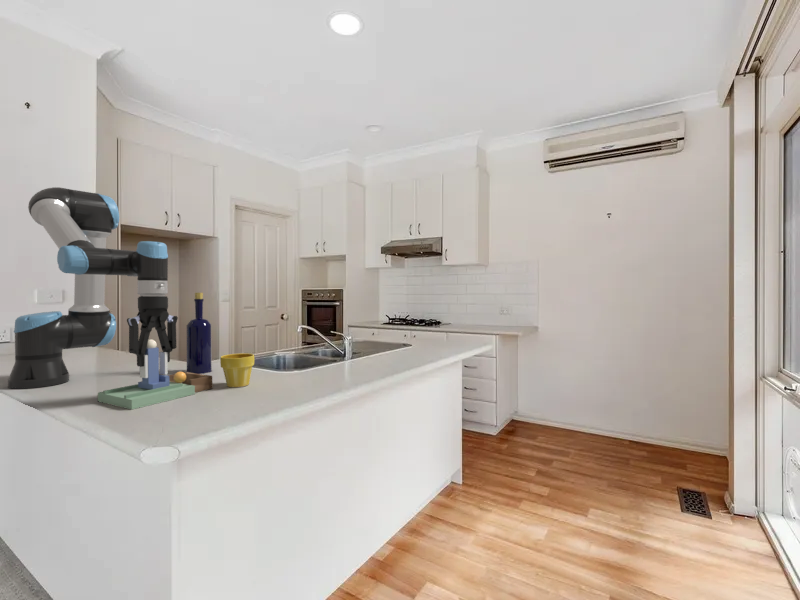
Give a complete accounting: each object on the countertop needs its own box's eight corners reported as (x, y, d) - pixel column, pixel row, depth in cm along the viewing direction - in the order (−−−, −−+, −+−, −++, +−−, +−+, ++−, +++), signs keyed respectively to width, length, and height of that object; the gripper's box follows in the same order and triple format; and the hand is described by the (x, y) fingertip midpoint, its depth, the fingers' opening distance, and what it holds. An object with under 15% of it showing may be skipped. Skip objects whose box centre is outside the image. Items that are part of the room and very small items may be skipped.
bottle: (205, 374, 151) (204, 292, 150) (180, 374, 151) (180, 292, 151) (217, 369, 160) (216, 292, 160) (193, 369, 160) (193, 292, 160)
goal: (164, 388, 129) (164, 375, 129) (185, 384, 135) (185, 371, 135) (191, 393, 123) (191, 380, 123) (212, 388, 129) (212, 375, 129)
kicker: (137, 387, 118) (137, 339, 118) (155, 383, 123) (155, 337, 123) (152, 390, 115) (152, 340, 115) (170, 386, 120) (170, 338, 120)
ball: (183, 372, 129) (178, 383, 128) (173, 369, 126) (169, 380, 125) (190, 373, 128) (186, 385, 126) (181, 370, 125) (176, 381, 123)
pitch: (97, 401, 113) (97, 389, 113) (161, 388, 129) (161, 377, 129) (131, 409, 106) (131, 396, 106) (194, 394, 122) (194, 383, 122)
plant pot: (213, 386, 131) (213, 356, 131) (239, 380, 140) (239, 352, 140) (235, 390, 127) (235, 359, 126) (261, 384, 136) (261, 354, 135)
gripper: (127, 295, 109) (128, 383, 109) (190, 295, 125) (190, 371, 125) (111, 295, 112) (113, 380, 113) (174, 295, 128) (175, 369, 129)
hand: (154, 375), depth 119 cm, fingers closed on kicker, 5 cm apart
